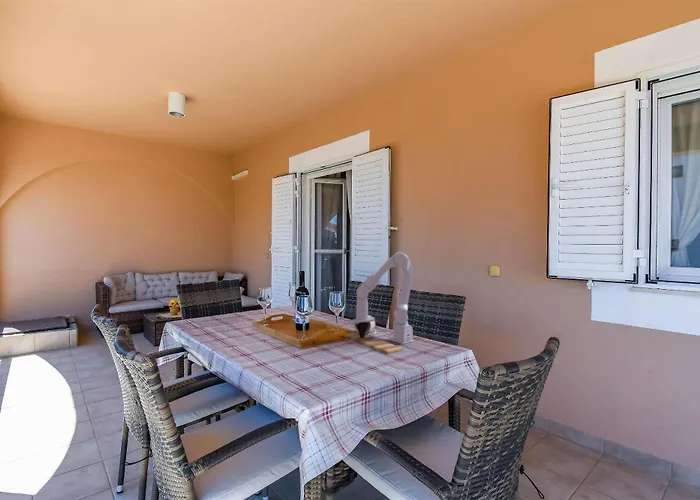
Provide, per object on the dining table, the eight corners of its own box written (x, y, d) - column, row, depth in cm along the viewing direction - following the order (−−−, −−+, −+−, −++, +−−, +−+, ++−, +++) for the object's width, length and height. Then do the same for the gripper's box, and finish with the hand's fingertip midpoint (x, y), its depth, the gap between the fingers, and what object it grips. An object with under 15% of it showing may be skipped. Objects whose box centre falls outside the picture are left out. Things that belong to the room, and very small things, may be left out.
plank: (373, 340, 183) (373, 337, 183) (359, 343, 178) (359, 340, 178) (354, 333, 196) (354, 330, 196) (340, 336, 191) (341, 333, 191)
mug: (356, 323, 203) (351, 326, 192) (366, 311, 202) (361, 313, 191) (373, 338, 199) (368, 341, 189) (383, 326, 198) (378, 328, 188)
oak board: (402, 350, 167) (402, 347, 167) (388, 354, 161) (388, 350, 161) (374, 340, 183) (374, 337, 183) (360, 343, 177) (360, 340, 177)
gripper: (368, 307, 190) (368, 333, 191) (345, 310, 182) (345, 337, 182) (377, 309, 185) (377, 336, 185) (354, 313, 176) (354, 341, 177)
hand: (362, 337), depth 184 cm, fingers closed
